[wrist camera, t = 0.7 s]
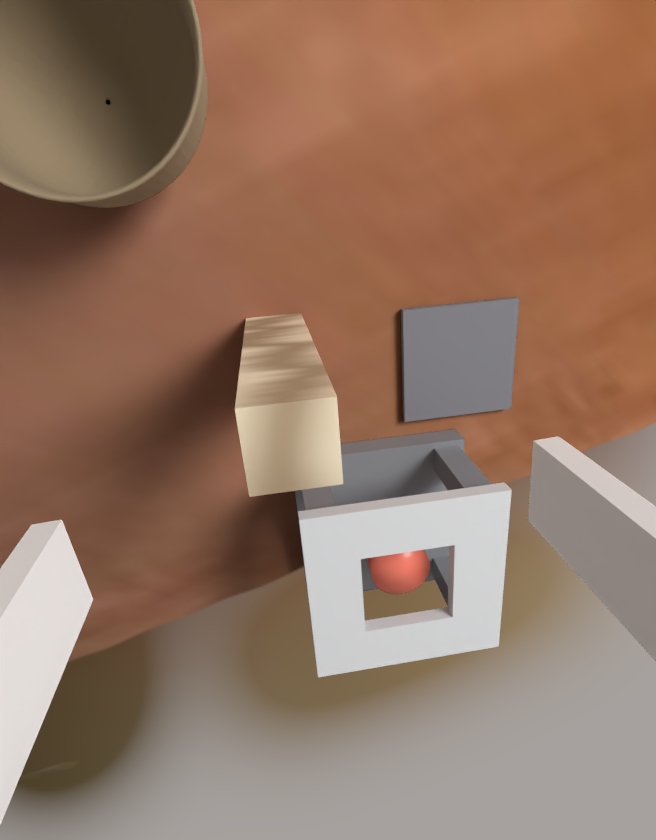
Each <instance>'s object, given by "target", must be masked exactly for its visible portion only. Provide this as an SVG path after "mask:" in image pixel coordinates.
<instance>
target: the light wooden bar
mask: <svg viewBox="0 0 656 840" xmlns="http://www.w3.org/2000/svg"><path fill="white" fill-rule="evenodd" d="M235 414H236V420H237V426H238V432H239V438H240V444H241V450H242V456H243V462H244V468H245V474H246V480H247V486H248V492H249V497H253V496H260V495H267V494H275V493H282V492H289V491H297V490H304V489H311V488H319V487H326V486H333V485H341V484H343V472H342V459H341V445H340V432H339V419H338V406H337V396H336V393H335V391H334V389H333V387H332V384H331V382H330V380H329V377H328V375H327V373H326V370H325V368H324V366H323V363H322V361H321V359H320V356H319V354H318V352H317V349H316V347H315V345H314V342H313V340H312V338H311V335H310V333H309V331H308V328H307V326H306V324H305V322H304V319H303V317H302V315H301V313H294V314H284V315H274V316H265V317H255V318H246V322H245V330H244V338H243V346H242V354H241V362H240V370H239V378H238V386H237V394H236V402H235Z"/></svg>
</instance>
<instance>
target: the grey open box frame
mask: <svg viewBox="0 0 656 840" xmlns="http://www.w3.org/2000/svg"><path fill="white" fill-rule="evenodd" d="M340 445H341V459H342V472H343V484H341V485H333V486H326V487H319V488H311V489H304V490H297V491H295V496H296V504H297V512H298V521H299V529H300V537H301V545H302V553H303V561H304V570H305V578H306V586H307V593H308V600H309V606H310V614H311V622H312V631H313V639H314V647H315V654H316V663H317V671H318V677H323V676H328V675H335V674H340V673H346V672H352V671H358V670H363V669H370V668H375V667H381V666H387V665H393V664H398V663H405V662H410V661H416V660H422V659H427V658H434V657H440V656H445V655H451V654H457V653H463V652H469V651H475V650H481V649H486V648H492V647H498V646H499V635H500V623H501V611H502V599H503V587H504V574H505V563H506V551H507V539H508V526H509V514H510V502H511V489H510V488H509V487H508V486H507V485H506V484H505V482H504V483H497V484H491V482H490V481H489V480H488V479H487V478H486V477H485V475H484V474H483V473H482V472H481V471H480V470H479V469H478V467H477V466H476V465H475V464H474V463H473V462H472V461H471V459H470V458H469V457H468V456H467V455H466V454H465V452H464V438H463V437H462V436H461V435H460V434H459V432H458V431H457V430H456V429H451V430H443V431H435V432H428V433H420V434H412V435H404V436H397V437H389V438H381V439H373V440H365V441H358V442H350V443H342V444H340ZM418 550H425V552H426V554H427V556H428V559H429V561H430V571H429V574H428V576H427V578H426V579H425V581H430V580H435V581H436V583H437V585H438V587H439V589H440V591H441V593H442V595H443V597H444V599H445V601H446V603H447V606H448V607H446V608H440V609H434V610H429V611H422V612H416V613H409V614H403V615H397V616H391V617H385V618H379V619H373V620H366V621H365V618H364V602H363V591H367V590H373V589H379V588H378V587H377V586H376V585H375V584H374V582H373V579H372V576H371V572H370V569H369V566H368V563H367V560H366V558H372V557H379V556H385V555H392V554H399V553H405V552H412V551H418Z"/></svg>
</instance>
